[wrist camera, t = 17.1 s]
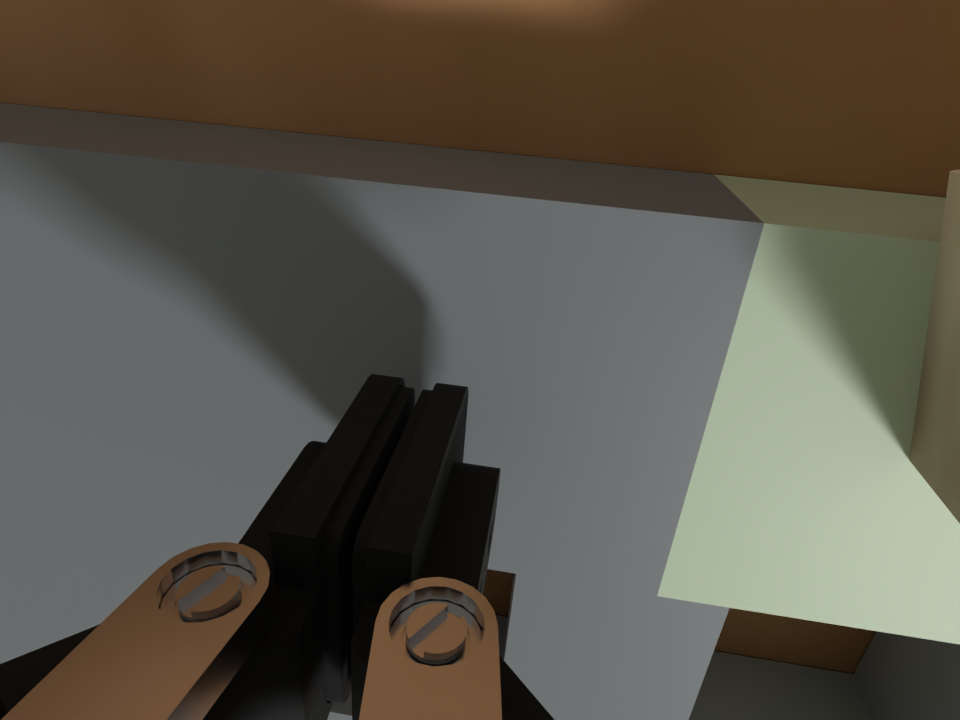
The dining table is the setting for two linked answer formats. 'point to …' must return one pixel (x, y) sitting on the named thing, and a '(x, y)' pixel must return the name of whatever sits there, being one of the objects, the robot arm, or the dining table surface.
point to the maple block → (942, 368)
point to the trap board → (487, 393)
